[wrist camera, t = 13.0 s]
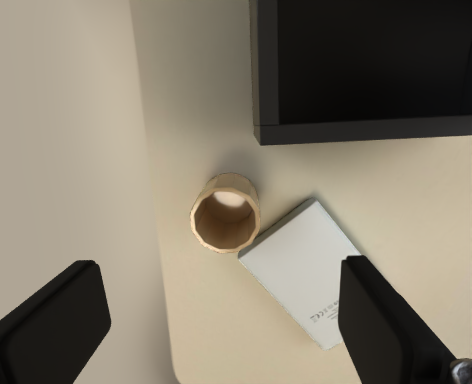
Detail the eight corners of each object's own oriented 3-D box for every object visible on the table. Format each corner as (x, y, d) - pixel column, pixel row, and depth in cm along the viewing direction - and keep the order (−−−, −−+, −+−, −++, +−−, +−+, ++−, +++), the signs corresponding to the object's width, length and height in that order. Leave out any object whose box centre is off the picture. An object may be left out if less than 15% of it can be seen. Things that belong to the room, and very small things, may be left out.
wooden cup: (205, 225, 22) (193, 253, 17) (200, 174, 21) (186, 189, 16) (257, 223, 22) (260, 251, 17) (256, 171, 21) (259, 185, 16)
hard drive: (312, 194, 21) (392, 295, 23) (237, 251, 23) (319, 339, 25) (317, 200, 19) (403, 307, 22) (236, 260, 21) (324, 354, 23)
